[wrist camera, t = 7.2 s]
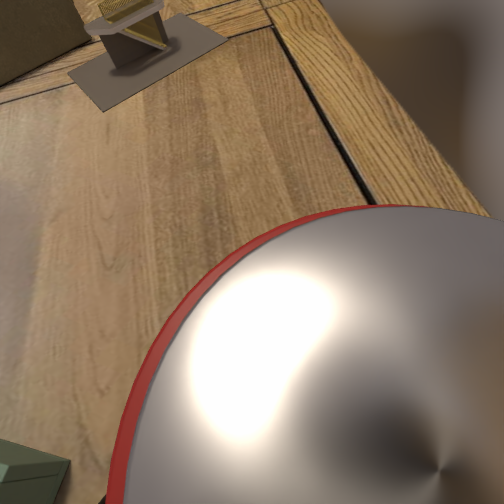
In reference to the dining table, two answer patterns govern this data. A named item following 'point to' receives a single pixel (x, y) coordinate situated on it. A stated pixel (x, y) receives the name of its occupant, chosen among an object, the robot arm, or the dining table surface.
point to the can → (329, 369)
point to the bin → (29, 474)
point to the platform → (139, 49)
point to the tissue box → (36, 34)
